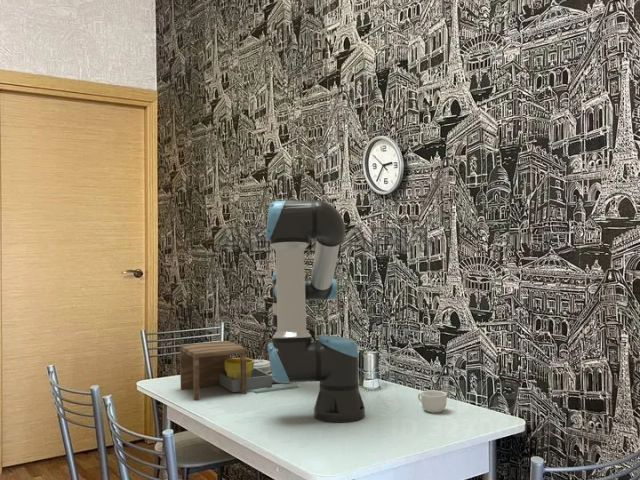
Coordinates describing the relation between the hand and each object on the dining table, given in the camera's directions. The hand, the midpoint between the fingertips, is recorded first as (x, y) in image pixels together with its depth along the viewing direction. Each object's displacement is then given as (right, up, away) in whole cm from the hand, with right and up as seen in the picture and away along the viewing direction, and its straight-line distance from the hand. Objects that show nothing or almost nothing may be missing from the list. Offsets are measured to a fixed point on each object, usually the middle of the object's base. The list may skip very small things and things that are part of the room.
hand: (283, 377), depth 232 cm
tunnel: (-24, -2, -12) cm, 27 cm away
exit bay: (-6, -2, -3) cm, 7 cm away
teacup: (+47, -2, -40) cm, 62 cm away
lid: (-12, -2, +16) cm, 20 cm away
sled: (-9, -1, -5) cm, 10 cm away
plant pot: (-15, -2, -8) cm, 18 cm away
